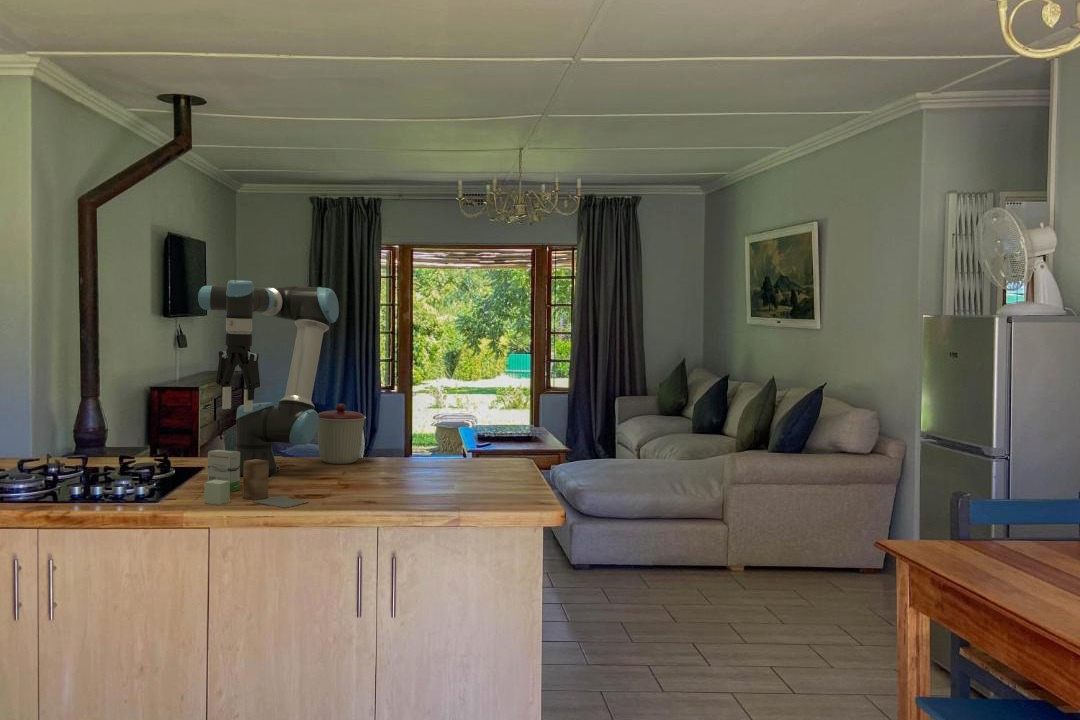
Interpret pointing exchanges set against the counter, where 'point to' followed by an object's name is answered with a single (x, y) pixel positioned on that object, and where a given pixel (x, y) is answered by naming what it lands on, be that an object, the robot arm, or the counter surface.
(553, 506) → the counter surface
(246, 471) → the walnut block
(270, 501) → the mat
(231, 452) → the ink box
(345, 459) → the canister
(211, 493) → the sage block
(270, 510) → the counter surface
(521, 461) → the counter surface
